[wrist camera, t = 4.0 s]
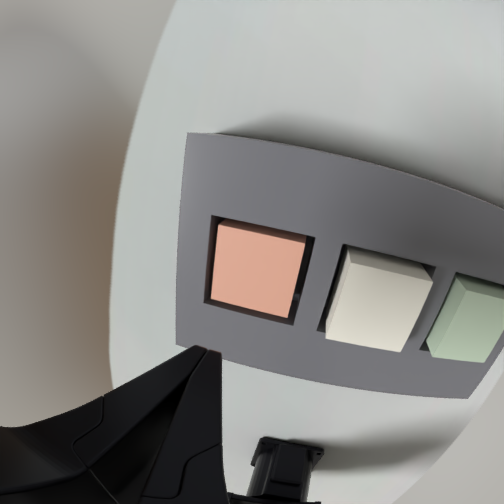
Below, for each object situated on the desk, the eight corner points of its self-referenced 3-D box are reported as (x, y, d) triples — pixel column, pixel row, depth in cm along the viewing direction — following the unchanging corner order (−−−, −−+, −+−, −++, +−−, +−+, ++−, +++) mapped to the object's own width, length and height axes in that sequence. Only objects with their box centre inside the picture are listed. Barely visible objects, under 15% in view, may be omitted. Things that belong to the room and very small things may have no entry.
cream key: (392, 324, 15) (400, 352, 13) (326, 310, 15) (325, 338, 13) (418, 260, 13) (433, 281, 11) (346, 242, 14) (350, 262, 12)
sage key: (470, 337, 14) (484, 362, 12) (421, 329, 15) (432, 357, 12) (498, 281, 12) (517, 302, 10) (448, 268, 13) (466, 290, 11)
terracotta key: (292, 293, 17) (287, 317, 14) (225, 277, 17) (211, 298, 15) (308, 227, 15) (305, 243, 13) (233, 211, 16) (218, 224, 13)
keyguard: (455, 366, 17) (467, 398, 14) (197, 314, 20) (175, 344, 17) (522, 217, 12) (553, 234, 9) (214, 133, 15) (187, 132, 12)
